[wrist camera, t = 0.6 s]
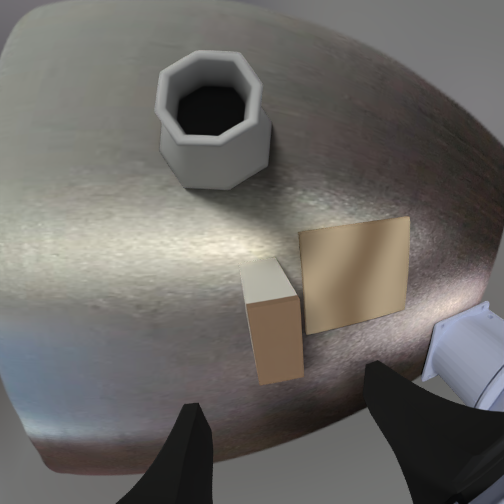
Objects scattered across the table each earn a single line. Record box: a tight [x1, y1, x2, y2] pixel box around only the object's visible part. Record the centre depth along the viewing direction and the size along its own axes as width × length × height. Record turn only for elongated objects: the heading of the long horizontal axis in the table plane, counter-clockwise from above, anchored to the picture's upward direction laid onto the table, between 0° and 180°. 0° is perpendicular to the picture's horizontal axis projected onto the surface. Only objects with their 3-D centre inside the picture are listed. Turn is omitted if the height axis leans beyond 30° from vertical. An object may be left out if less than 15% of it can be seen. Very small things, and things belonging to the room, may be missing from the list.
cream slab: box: [238, 257, 304, 385], centre depth 17 cm, size 2×5×6 cm, turn 8°
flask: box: [154, 50, 272, 190], centre depth 12 cm, size 7×7×10 cm
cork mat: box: [298, 216, 410, 335], centre depth 20 cm, size 9×8×1 cm
